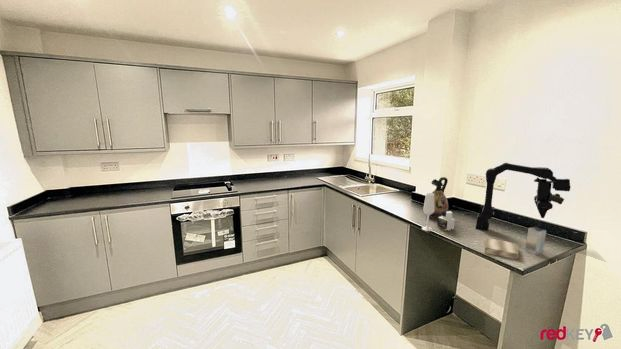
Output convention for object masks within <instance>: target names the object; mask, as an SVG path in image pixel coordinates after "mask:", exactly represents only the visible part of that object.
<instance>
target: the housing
mask: <svg viewBox="0 0 621 349" xmlns="http://www.w3.org/2000/svg"><path fill="white" fill-rule="evenodd" d="M546 237H547V230H546V229H543V228H540V227H537V226H534V227H533V226H532V227H528V231H527V236H526V243H525V248H524V251H525V252H527V253H529V254H532V255H534V256H537V255H543V253H544V247H545V246H544V245H545V241H546Z"/></svg>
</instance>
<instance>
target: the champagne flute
mask: <svg viewBox="0 0 621 349" xmlns="http://www.w3.org/2000/svg"><path fill="white" fill-rule="evenodd" d="M422 211H423V212H424V214H425V215H426V216H427V217H426V226H423V227H421V229H422V231H425V232H431V231H430V230H431V229H432V227H430V224H429V221H430V216H429V215H431V214H433V213H434V194H433V193H432V192H426V193H425V198H424V203H423V209H422Z"/></svg>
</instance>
